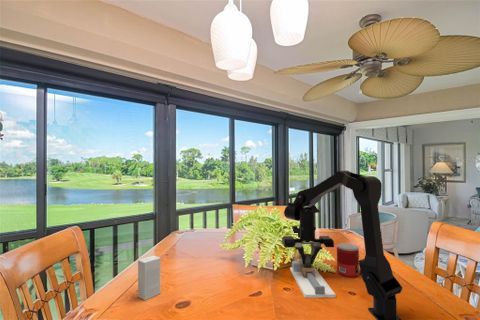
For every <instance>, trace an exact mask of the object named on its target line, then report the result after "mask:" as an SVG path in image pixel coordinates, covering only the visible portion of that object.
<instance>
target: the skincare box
mask: <svg viewBox="0 0 480 320" xmlns="http://www.w3.org/2000/svg"><path fill="white" fill-rule="evenodd" d="M161 259H162V258H161V257H159V256H157V255H151V256H148V257H144V258H140V259H138V261H137V281H138V282H137V296H138V298H140V299H141V300H143V301H147V300H149V299H151V298H154V297H156V296H158V295H160V294H161V291H162V290H161V287H162V284H161V277H162V276H161V272H162V271H161V270H162V269H161V268H162V267H161V263H162V262H161Z"/></svg>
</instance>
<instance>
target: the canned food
mask: <svg viewBox="0 0 480 320" xmlns="http://www.w3.org/2000/svg"><path fill="white" fill-rule="evenodd" d="M359 252H360V251H359V246H358V245H356V244H353V243H338V244H337V245H336V270H337V274H338V275H340V276H341V277H344V278H350V279H354V278H357V277H358V276H359V275H360V266H359V260H360V258H359V257H360V256H359V255H360V254H359Z"/></svg>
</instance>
